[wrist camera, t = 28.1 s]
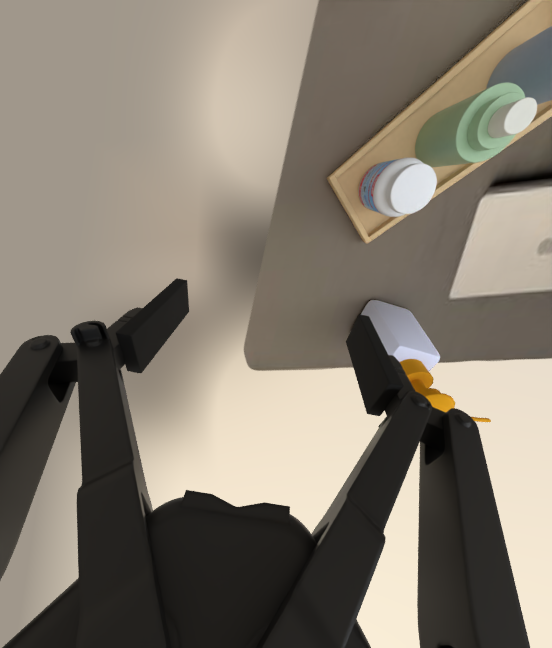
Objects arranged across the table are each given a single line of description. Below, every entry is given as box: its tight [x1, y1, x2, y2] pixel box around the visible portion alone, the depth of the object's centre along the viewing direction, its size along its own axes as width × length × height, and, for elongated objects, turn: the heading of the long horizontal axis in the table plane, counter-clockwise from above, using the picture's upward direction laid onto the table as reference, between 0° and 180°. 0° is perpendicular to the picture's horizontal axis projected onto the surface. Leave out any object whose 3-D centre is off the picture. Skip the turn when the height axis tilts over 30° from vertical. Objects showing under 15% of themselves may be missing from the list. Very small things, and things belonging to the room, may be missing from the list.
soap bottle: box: [361, 300, 491, 422], centre depth 37 cm, size 10×14×22 cm
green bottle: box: [415, 82, 537, 167], centre depth 24 cm, size 6×6×12 cm
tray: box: [327, 0, 552, 244], centre depth 29 cm, size 28×12×2 cm, turn 129°
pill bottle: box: [358, 158, 437, 217], centre depth 28 cm, size 6×6×11 cm
